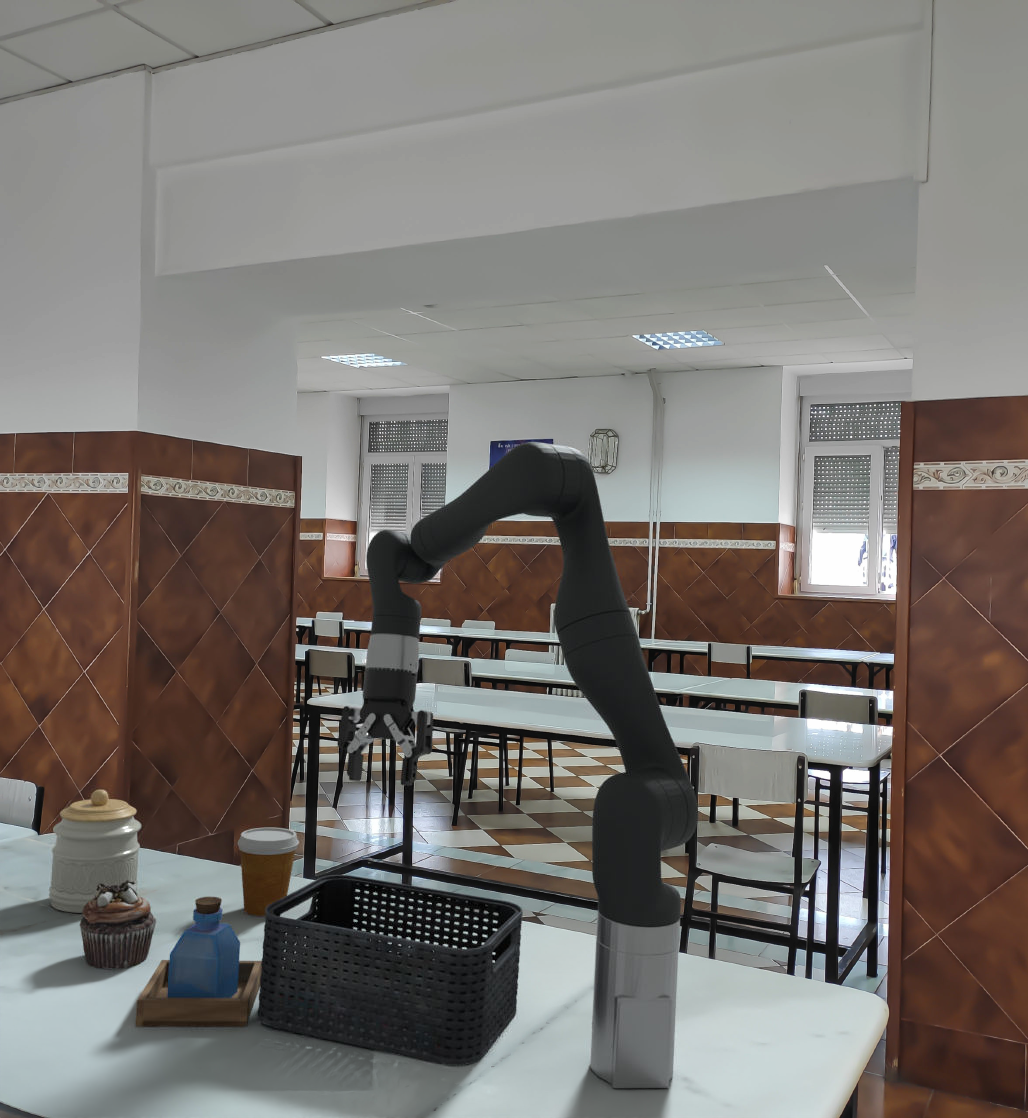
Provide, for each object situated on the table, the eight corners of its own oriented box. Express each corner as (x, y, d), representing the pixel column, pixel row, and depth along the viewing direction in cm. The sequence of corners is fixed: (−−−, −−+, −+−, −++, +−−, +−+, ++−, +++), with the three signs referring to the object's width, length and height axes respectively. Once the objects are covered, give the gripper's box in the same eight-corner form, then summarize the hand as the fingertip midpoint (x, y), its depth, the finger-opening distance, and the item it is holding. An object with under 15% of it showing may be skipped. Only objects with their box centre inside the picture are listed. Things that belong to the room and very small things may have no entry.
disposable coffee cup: (228, 903, 163) (233, 828, 163) (287, 898, 167) (292, 825, 167) (239, 922, 154) (243, 843, 154) (301, 917, 158) (305, 839, 158)
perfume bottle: (237, 992, 127) (242, 895, 127) (214, 1012, 121) (220, 910, 121) (191, 986, 128) (196, 890, 128) (166, 1006, 122) (172, 905, 122)
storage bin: (524, 1007, 129) (529, 901, 129) (473, 1074, 110) (480, 950, 111) (323, 970, 137) (329, 871, 138) (245, 1027, 119) (252, 912, 119)
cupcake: (91, 977, 131) (96, 899, 131) (69, 954, 138) (74, 880, 138) (164, 963, 137) (169, 888, 137) (139, 941, 144) (144, 870, 145)
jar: (54, 890, 164) (61, 782, 165) (139, 887, 168) (145, 781, 169) (42, 917, 152) (49, 799, 153) (134, 913, 156) (141, 798, 156)
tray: (246, 1026, 119) (247, 1001, 119) (135, 1026, 117) (136, 1000, 117) (260, 984, 131) (262, 961, 131) (160, 983, 130) (161, 960, 130)
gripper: (335, 664, 145) (323, 779, 142) (422, 666, 140) (411, 786, 136) (363, 670, 152) (352, 780, 149) (447, 672, 146) (437, 787, 143)
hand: (380, 783), depth 143 cm, fingers open, 8 cm apart
